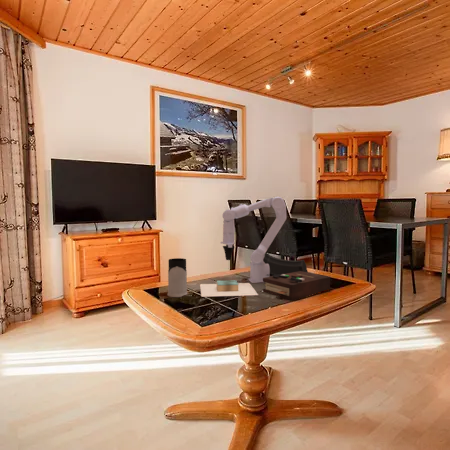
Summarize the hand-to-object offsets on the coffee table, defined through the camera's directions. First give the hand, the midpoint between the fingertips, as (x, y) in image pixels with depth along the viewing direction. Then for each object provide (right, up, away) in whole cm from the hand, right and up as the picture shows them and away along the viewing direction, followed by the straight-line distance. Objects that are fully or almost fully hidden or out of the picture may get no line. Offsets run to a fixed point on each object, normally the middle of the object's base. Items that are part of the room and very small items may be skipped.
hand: (228, 259), depth 169 cm
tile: (-1, -9, -15) cm, 18 cm away
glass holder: (-22, -12, -24) cm, 35 cm away
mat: (-1, -12, -19) cm, 23 cm away
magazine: (+30, -10, +10) cm, 33 cm away
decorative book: (+30, -12, -22) cm, 39 cm away
